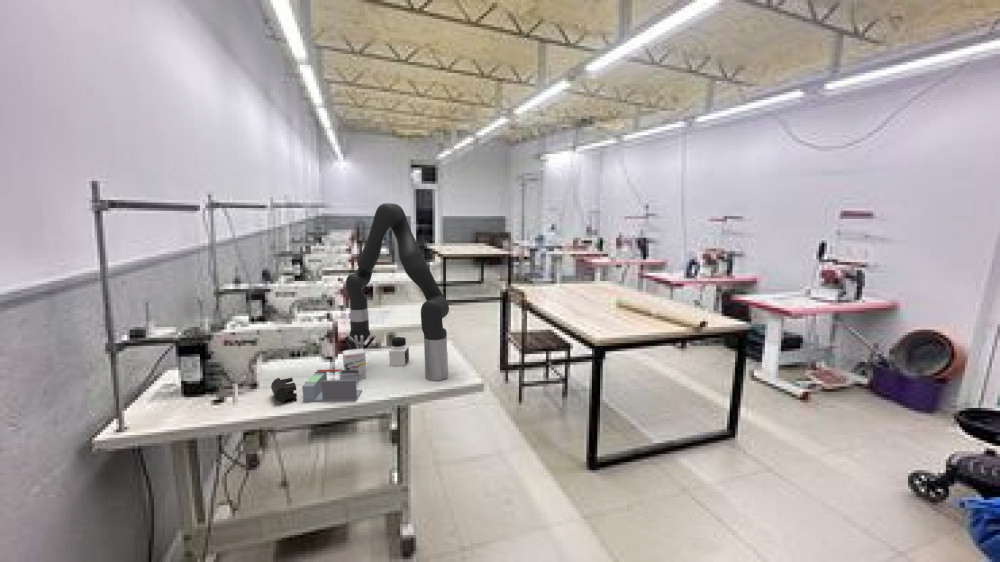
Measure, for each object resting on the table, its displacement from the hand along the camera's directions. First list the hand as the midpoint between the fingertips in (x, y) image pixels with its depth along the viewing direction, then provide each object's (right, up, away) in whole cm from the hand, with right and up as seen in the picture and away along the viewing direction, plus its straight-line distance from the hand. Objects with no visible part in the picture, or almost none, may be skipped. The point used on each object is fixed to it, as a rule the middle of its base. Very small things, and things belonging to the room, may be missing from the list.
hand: (361, 357), depth 186 cm
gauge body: (-2, -10, -23) cm, 25 cm away
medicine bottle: (+15, -4, +7) cm, 17 cm away
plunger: (-3, -7, -18) cm, 19 cm away
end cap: (-19, -11, -28) cm, 35 cm away
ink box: (+1, -7, -10) cm, 12 cm away
